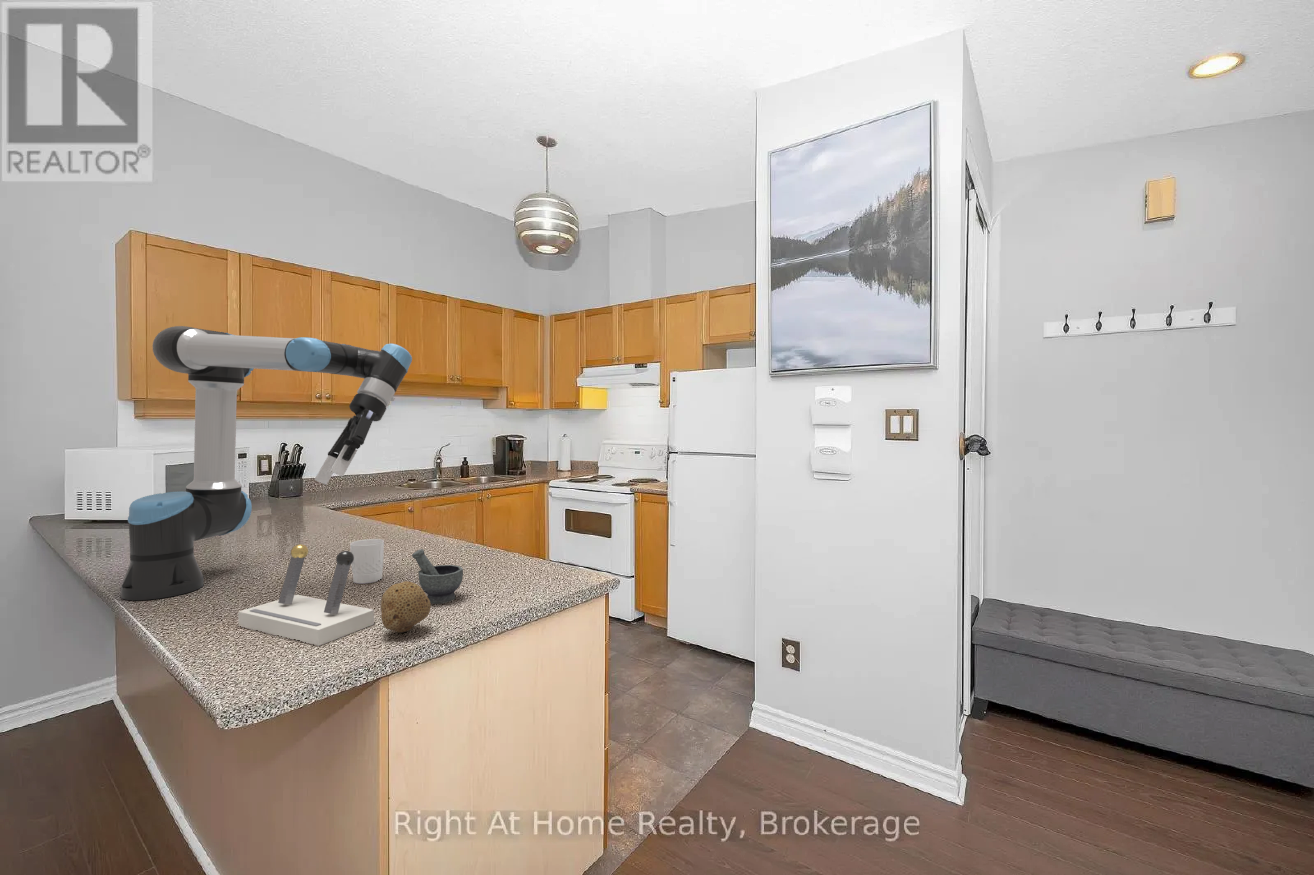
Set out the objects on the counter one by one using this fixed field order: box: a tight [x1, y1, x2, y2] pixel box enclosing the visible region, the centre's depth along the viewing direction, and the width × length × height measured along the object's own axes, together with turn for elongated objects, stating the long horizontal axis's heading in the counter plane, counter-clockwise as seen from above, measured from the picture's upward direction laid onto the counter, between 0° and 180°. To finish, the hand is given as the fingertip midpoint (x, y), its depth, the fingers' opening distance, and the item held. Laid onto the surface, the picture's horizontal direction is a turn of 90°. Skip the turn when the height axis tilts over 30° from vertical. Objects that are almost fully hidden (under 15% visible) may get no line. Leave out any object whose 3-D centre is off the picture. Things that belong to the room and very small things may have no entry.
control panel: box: [237, 594, 375, 647], centre depth 114 cm, size 12×24×3 cm, turn 67°
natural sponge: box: [380, 580, 432, 634], centre depth 111 cm, size 9×9×10 cm
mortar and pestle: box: [411, 548, 464, 605], centre depth 131 cm, size 11×9×12 cm
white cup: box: [349, 538, 385, 585], centre depth 146 cm, size 8×8×10 cm
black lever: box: [324, 550, 354, 614], centre depth 113 cm, size 3×3×12 cm
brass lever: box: [278, 543, 309, 604], centre depth 119 cm, size 3×3×12 cm
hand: (328, 478), depth 127 cm, fingers open, 13 cm apart
